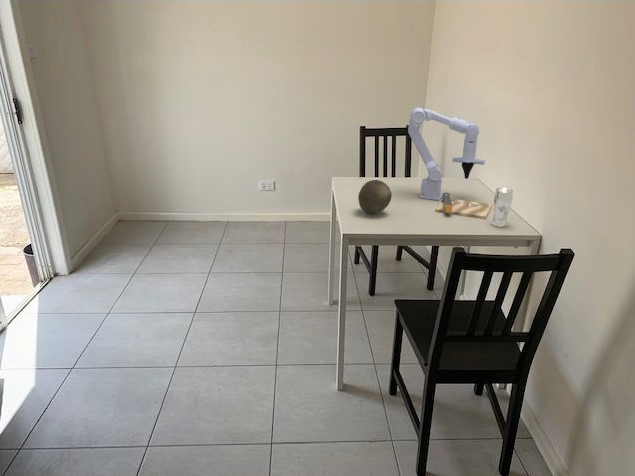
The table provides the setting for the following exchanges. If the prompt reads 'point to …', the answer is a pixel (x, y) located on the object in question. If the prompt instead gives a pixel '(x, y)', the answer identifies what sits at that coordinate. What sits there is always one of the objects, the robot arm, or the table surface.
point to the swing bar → (447, 202)
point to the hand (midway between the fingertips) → (466, 178)
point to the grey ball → (374, 196)
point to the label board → (466, 208)
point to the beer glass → (502, 206)
